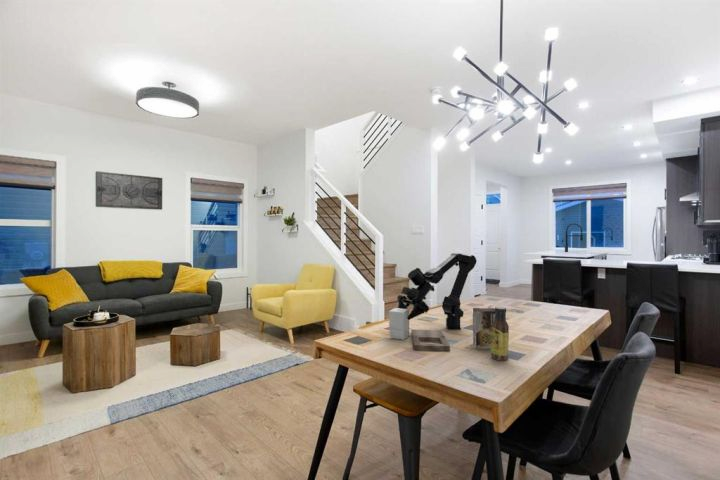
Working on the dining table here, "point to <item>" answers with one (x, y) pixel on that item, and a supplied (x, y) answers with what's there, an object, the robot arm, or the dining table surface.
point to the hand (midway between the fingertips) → (402, 317)
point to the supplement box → (399, 323)
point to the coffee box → (482, 327)
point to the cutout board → (429, 340)
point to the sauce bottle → (500, 335)
